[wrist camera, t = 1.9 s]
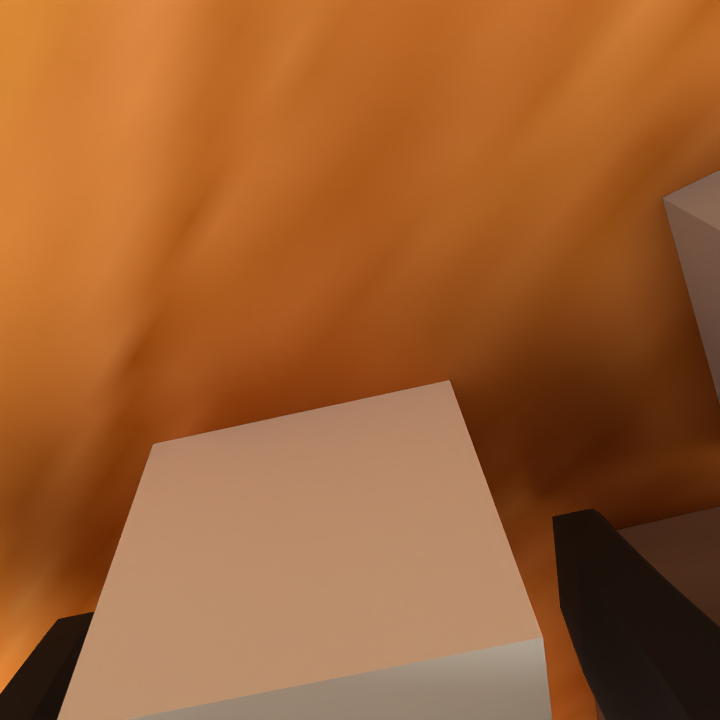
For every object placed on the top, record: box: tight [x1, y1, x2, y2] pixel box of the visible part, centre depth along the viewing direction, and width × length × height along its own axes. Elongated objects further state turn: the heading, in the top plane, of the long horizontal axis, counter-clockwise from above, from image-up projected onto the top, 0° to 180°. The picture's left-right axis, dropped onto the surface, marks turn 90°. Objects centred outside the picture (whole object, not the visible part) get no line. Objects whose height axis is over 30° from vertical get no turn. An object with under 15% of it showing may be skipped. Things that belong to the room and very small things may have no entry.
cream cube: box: [57, 380, 552, 720], centre depth 10 cm, size 5×5×5 cm
